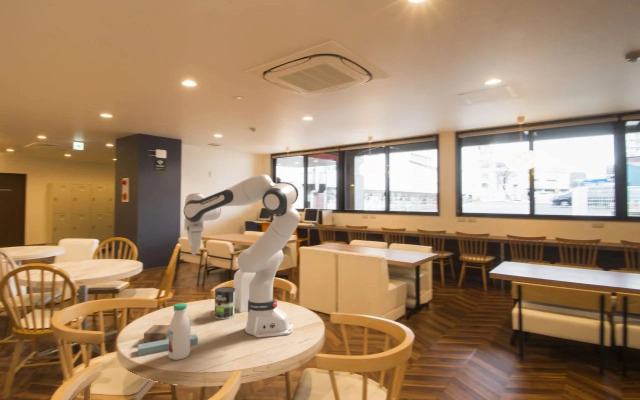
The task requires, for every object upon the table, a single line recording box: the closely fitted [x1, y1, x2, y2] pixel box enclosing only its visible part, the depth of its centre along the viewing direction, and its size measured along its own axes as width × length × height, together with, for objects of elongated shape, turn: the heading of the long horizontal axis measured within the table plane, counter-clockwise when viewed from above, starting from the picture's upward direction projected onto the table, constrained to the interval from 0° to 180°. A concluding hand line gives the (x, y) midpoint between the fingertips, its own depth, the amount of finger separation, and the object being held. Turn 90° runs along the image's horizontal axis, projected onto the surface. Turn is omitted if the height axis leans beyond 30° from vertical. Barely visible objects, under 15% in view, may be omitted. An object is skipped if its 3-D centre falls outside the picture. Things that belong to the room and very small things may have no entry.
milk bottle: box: [168, 302, 191, 361], centre depth 126 cm, size 8×8×20 cm
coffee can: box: [214, 286, 235, 320], centre depth 170 cm, size 10×10×14 cm
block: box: [143, 324, 170, 344], centre depth 140 cm, size 9×9×5 cm
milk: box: [233, 269, 256, 313], centre depth 183 cm, size 12×12×26 cm
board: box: [137, 333, 199, 357], centre depth 132 cm, size 22×5×3 cm, turn 120°
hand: (193, 254), depth 158 cm, fingers closed
